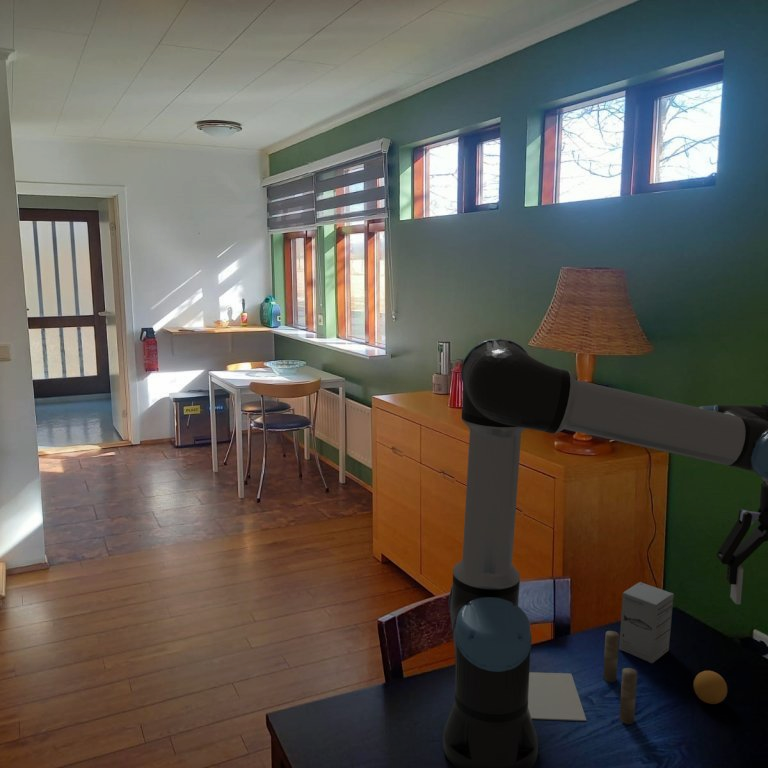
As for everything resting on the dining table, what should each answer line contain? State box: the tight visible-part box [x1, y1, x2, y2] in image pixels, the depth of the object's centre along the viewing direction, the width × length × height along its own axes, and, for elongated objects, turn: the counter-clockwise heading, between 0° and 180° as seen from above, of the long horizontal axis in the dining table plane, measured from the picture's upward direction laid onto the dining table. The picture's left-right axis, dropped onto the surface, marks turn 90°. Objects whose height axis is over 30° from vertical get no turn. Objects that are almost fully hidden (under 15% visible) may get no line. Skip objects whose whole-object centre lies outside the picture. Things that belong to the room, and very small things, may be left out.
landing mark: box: [528, 671, 587, 722], centre depth 134 cm, size 14×14×1 cm
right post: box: [619, 667, 638, 725], centre depth 126 cm, size 2×2×9 cm
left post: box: [602, 630, 620, 683], centre depth 138 cm, size 2×2×9 cm
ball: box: [693, 670, 728, 705], centre depth 132 cm, size 6×6×6 cm
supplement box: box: [618, 581, 675, 664], centre depth 148 cm, size 7×7×13 cm
